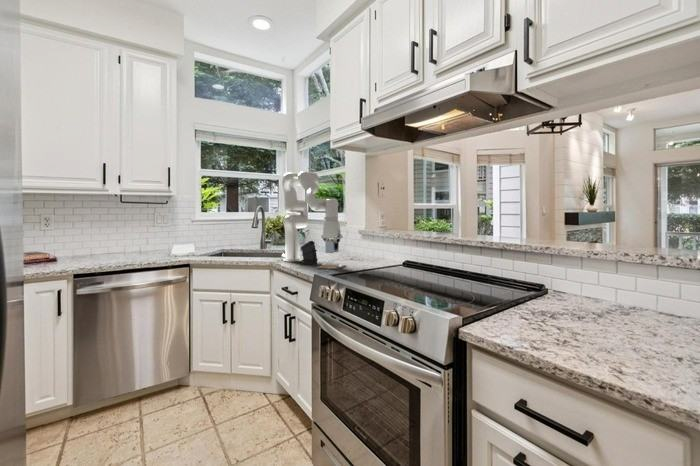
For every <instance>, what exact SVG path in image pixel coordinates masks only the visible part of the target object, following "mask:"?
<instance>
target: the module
mask: <svg viewBox="0 0 700 466" xmlns="http://www.w3.org/2000/svg"><path fill="white" fill-rule="evenodd" d="M324 243H325V254H335V253H339V252H340V251H339V247H340V246H339V243H340V242H339V243H338V250H334V249H335V248H334V244H335V240H334V238H330V240H329V241H324Z"/></svg>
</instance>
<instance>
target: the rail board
mask: <svg viewBox="0 0 700 466" xmlns="http://www.w3.org/2000/svg"><path fill="white" fill-rule="evenodd" d="M346 267H347V264H342V263H338V262H325V261H324V262H322V263H321V265H319V266H316V269H320V270H329V271H336V270H339V269H341V268H346Z"/></svg>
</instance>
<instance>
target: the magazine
mask: <svg viewBox="0 0 700 466" xmlns="http://www.w3.org/2000/svg"><path fill="white" fill-rule="evenodd" d="M315 244H316V243H315V241H314V240H310V241H307V242H306V243H305V244H303V245H302V246H300V248H299V251H301V253H302V254H301V256H302V260H301V261H302V263H303V264H305V263H306V265H313V266H316V265H318V261H319V258H318V257H317V251H318V250H317V249H316V246H315Z"/></svg>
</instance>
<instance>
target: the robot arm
mask: <svg viewBox="0 0 700 466" xmlns="http://www.w3.org/2000/svg"><path fill="white" fill-rule="evenodd" d="M281 179H282V180H281V185H282V186H281V187H282V189H283V196H284V197H283V198H284V208H285V209H284V210H285V211H286V213H289V214H288V215H286V216H284V218H283V227H284V235H285V237H284V238H285V239H284V240H285V241H284V242H285V243H284V244H285V245H284V248H285V249H284V250H285V253H282V254H281V257H283V262H301V261H302V260H303V257H302V258H301V257H300V234H299V231H298V229H305V228H306V227H308V224H309V212H308V207H309V208H310V209H311V211H314V212H325V216H324V217H323V220H324V223H323V227H322V235H321V237H320V238H321V239H322V240H323V241H324V242H325V241H330V239H334V240H335V244H334V248H335V249H334V250H338V243H340V242H341V240H343V238H344V236H343V235H342V233H341V226H340V222H339V201H338V199H337V198H316V197H315V194H316V193H318V191H319V185H318V184H319V182H320V176H319V175H318V173H316V172H312V171H300V172H299V173H298V172H286V173H284V175H283V176H282V178H281ZM294 186H296V187H302V188H303V190H304V191H305V192H306V193H305V200H304V199H301V198H298V196H297V195H298V194H297V191H296V189H295V187H294ZM290 213H291V214H290ZM295 213H296V214H295Z"/></svg>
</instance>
